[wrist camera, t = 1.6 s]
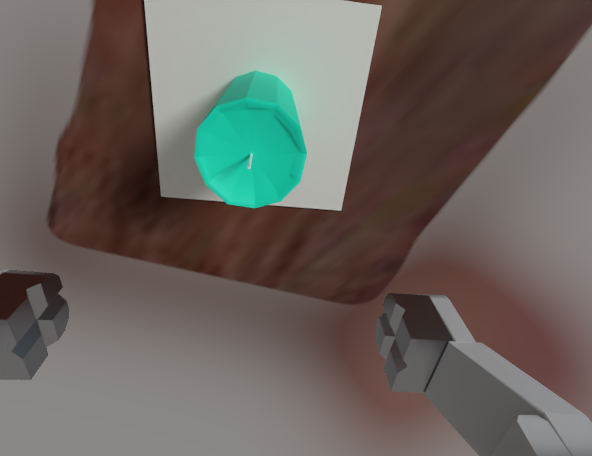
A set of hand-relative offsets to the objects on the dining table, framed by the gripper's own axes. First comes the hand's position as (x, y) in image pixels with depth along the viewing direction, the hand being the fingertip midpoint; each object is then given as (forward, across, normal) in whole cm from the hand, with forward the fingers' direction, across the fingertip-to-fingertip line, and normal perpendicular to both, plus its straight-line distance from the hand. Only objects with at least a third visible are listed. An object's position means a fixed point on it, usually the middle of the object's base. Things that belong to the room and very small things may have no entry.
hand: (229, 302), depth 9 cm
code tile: (+22, 0, 0) cm, 22 cm away
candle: (+22, 0, 0) cm, 22 cm away
